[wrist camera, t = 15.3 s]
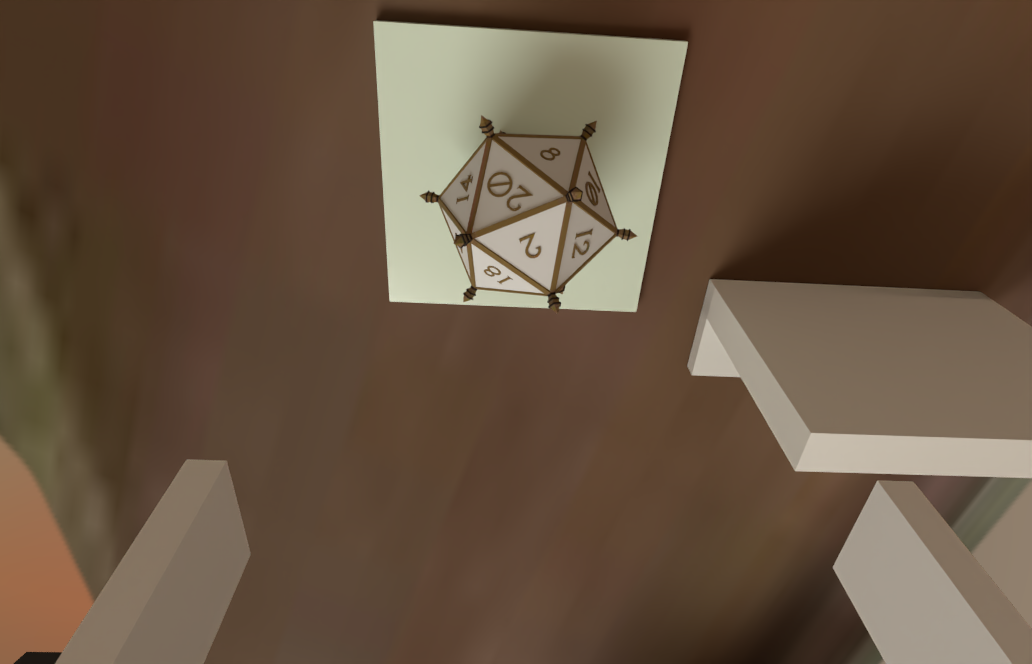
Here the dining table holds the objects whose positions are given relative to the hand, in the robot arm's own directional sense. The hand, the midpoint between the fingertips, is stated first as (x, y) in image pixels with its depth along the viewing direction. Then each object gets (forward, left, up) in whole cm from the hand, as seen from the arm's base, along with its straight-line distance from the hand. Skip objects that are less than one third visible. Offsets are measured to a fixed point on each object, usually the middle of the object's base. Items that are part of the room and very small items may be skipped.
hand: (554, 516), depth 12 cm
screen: (-8, -19, -21) cm, 30 cm away
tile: (0, 0, -22) cm, 22 cm away
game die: (0, 0, -21) cm, 21 cm away
